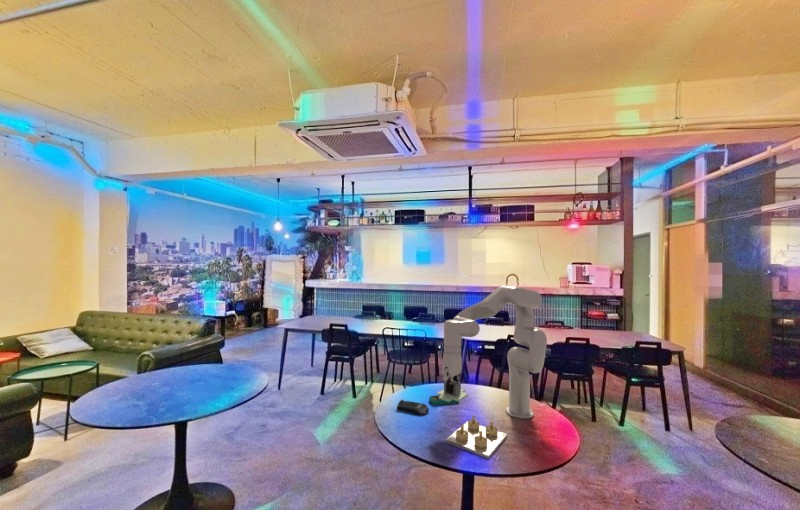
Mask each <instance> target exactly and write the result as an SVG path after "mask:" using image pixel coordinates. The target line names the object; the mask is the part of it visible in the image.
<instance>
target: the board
mask: <svg viewBox="0 0 800 510" xmlns="http://www.w3.org/2000/svg"><path fill="white" fill-rule="evenodd" d="M452 384H453V394H450V393H447V392H446V383H445V380H443V389H441V390H440V391H437V392H436V396H439V399H441V400H445V401H448V402H450V401H451V400H456V401H459V402H460V401H462V400H464V399H465V398H466V397H468V396H469V393H467V392H466V390H465V389H463V388H462V386H461V385H462V383H461V381H460V380H459V381H455V380H453V382H452Z"/></svg>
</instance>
